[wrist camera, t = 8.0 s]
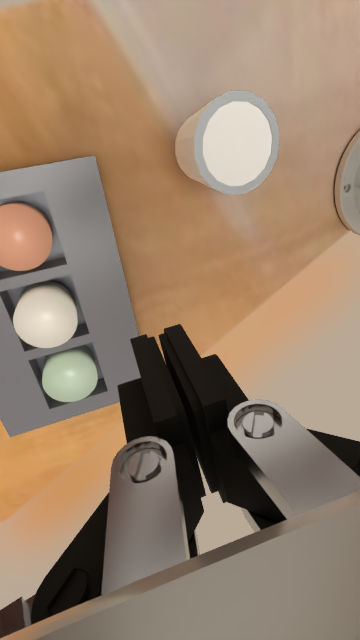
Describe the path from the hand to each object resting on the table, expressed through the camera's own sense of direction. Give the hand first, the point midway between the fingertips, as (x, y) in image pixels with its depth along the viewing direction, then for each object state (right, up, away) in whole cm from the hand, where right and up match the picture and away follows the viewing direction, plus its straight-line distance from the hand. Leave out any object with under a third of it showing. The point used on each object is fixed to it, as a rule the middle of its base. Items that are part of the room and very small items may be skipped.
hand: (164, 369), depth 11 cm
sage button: (-11, -2, +24) cm, 26 cm away
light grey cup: (+3, +17, +20) cm, 26 cm away
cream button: (-11, +3, +20) cm, 23 cm away
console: (-12, +4, +21) cm, 24 cm away
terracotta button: (-13, +9, +18) cm, 24 cm away
